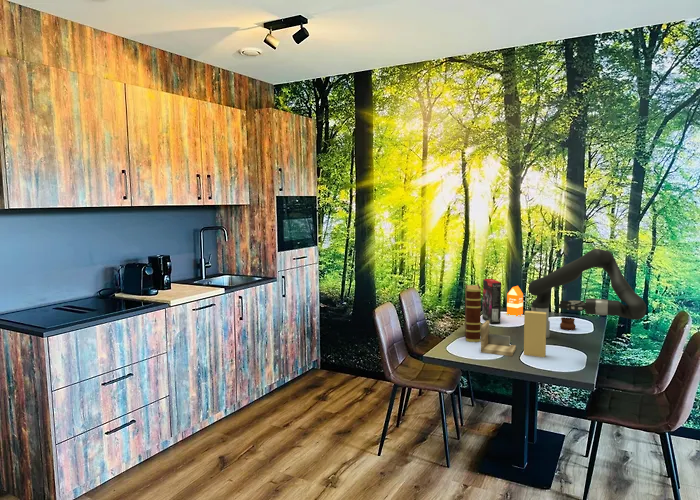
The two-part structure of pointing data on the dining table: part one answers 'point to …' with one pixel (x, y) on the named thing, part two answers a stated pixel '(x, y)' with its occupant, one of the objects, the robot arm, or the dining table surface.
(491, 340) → the grey flat panel
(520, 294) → the orange juice
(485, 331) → the wooden l-shaped piece
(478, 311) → the decorative book
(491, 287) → the graphics card box
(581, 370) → the dining table surface
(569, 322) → the ceramic pot
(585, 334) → the dining table surface
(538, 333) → the book
